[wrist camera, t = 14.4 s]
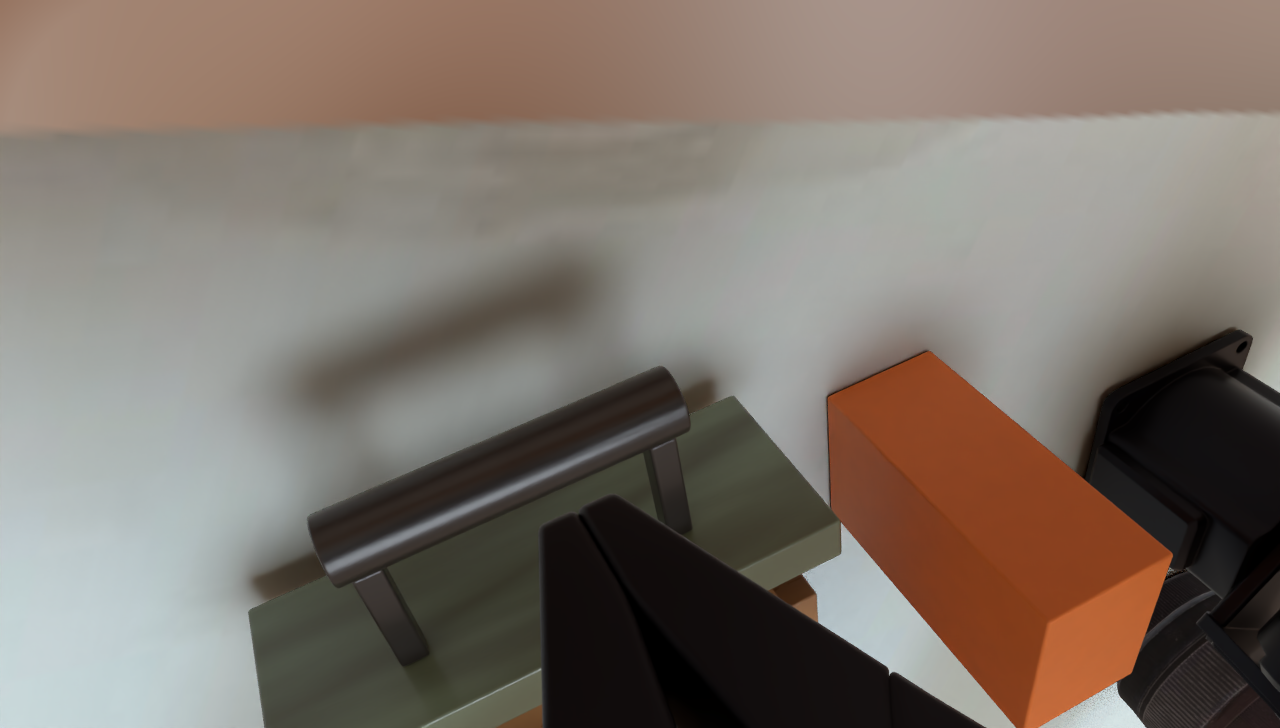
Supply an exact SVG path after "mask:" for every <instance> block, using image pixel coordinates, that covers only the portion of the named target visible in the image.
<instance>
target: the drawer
mask: <svg viewBox="0 0 1280 728" xmlns="http://www.w3.org/2000/svg"><path fill="white" fill-rule="evenodd" d="M607 494H617V495H619V496H621V497H623V498H624V499H626V500H627V501H629V502H630V503H632V504H634V505H635V506H637V507H638V508H640V509H641V510H643V511H645V512H646V513H648V514H649V515H651V516H652V517H654V518H655V519H657V520H659V521H660V522H662V523H663V524H665V525H666V526H668V527H669V528H671V529H673V530H674V531H676V532H677V533H679V534H680V535H682V536H684V537H685V538H687V539H688V540H690V541H691V542H693V543H694V544H696V545H698V546H699V547H701V548H702V549H704V550H705V551H707V552H708V553H710V554H712V555H713V556H715V557H716V558H718V559H719V560H721V561H723V562H724V563H726V564H727V565H729V566H730V567H732V568H733V569H735V570H737V571H738V572H740V573H741V574H743V575H744V576H746V577H747V578H749V579H751V580H752V581H754V582H755V583H757V584H758V585H760V586H762V587H763V588H765V589H766V590H768V591H769V592H771V593H772V594H774V595H776V596H777V597H779V598H780V599H782V600H783V601H785V602H786V603H788V604H790V605H791V606H793V607H794V608H796V609H797V610H799V611H801V612H802V613H804V614H805V615H807V616H808V617H810V618H811V619H813V620H815V621H816V622H818V613H817V595H816V592H815V591H814V590H813V589H812V587H811V586H810V585H809V583H808V582H807V581H806V579H805V578H804V577H803V575H802V573H804V572H806V571H808V570H810V569H812V568H814V567H816V566H818V565H820V564H822V563H824V562H826V561H828V560H830V559H832V558H834V557H836V556H838V555H840V554H841V522H840V519H839V518H838V517H837V516H836V514H835V513H834V512H833V511H832V510H831V509H830V507H829V506H828V505H827V504H826V503H825V502H824V500H823V499H822V498H821V497H820V496H819V495H818V493H817V492H816V491H815V490H814V489H813V488H812V486H811V485H810V484H809V483H808V482H807V480H806V479H805V478H804V477H803V476H802V475H801V473H800V472H799V471H798V470H797V469H796V468H795V466H794V465H793V464H792V463H791V462H790V461H789V459H788V458H787V457H786V456H785V455H784V454H783V452H782V451H781V450H780V449H779V448H778V447H777V445H776V444H775V443H774V442H773V441H772V440H771V438H770V437H769V436H768V435H767V434H766V433H765V431H764V430H763V429H762V428H761V427H760V425H759V424H758V423H757V422H756V421H755V420H754V418H753V417H752V416H751V415H750V414H749V413H748V411H747V410H746V409H745V408H744V407H743V406H742V404H741V403H740V402H739V401H738V400H737V399H736V397H735V396H730V397H728V398H726V399H723V400H721V401H719V402H717V403H714V404H712V405H710V406H708V407H705V408H703V409H701V410H699V411H696V412H694V413H692V414H690V415H689V412H688V408H687V405H686V402H685V400H684V397H683V395H682V393H681V391H680V389H679V387H678V385H677V383H676V381H675V380H674V378H673V377H672V375H671V374H670V373H669V371H668V370H667V369H666V368H664V367H663V366H658V367H655V368H653V369H651V370H648V371H646V372H643V373H641V374H639V375H636V376H634V377H632V378H629V379H627V380H625V381H622V382H620V383H618V384H615V385H613V386H611V387H608V388H606V389H604V390H601V391H599V392H597V393H594V394H592V395H590V396H587V397H585V398H583V399H580V400H578V401H575V402H573V403H571V404H568V405H566V406H564V407H561V408H559V409H557V410H554V411H552V412H550V413H547V414H545V415H543V416H540V417H538V418H536V419H533V420H531V421H529V422H526V423H524V424H522V425H519V426H517V427H515V428H512V429H510V430H508V431H505V432H503V433H500V434H498V435H496V436H493V437H491V438H489V439H486V440H484V441H482V442H479V443H477V444H475V445H472V446H470V447H468V448H465V449H463V450H461V451H458V452H456V453H454V454H451V455H449V456H447V457H444V458H442V459H440V460H437V461H435V462H433V463H430V464H428V465H425V466H423V467H421V468H418V469H416V470H414V471H411V472H409V473H407V474H404V475H402V476H400V477H397V478H395V479H393V480H390V481H388V482H386V483H383V484H381V485H379V486H376V487H374V488H372V489H369V490H367V491H365V492H362V493H360V494H358V495H355V496H353V497H350V498H348V499H346V500H343V501H341V502H339V503H336V504H334V505H332V506H329V507H327V508H325V509H322V510H320V511H318V512H315V513H313V514H311V515H309V516H308V518H307V525H308V530H309V534H310V537H311V540H312V543H313V546H314V549H315V551H316V554H317V556H318V559H319V561H320V563H321V565H322V567H323V569H324V571H325V573H326V575H327V576H324V577H322V578H320V579H318V580H315V581H313V582H311V583H309V584H306V585H304V586H302V587H300V588H297V589H295V590H293V591H291V592H288V593H286V594H284V595H282V596H279V597H277V598H275V599H273V600H270V601H268V602H266V603H264V604H261V605H259V606H257V607H254V608H252V609H250V610H249V612H248V615H249V622H250V629H251V636H252V643H253V650H254V657H255V664H256V672H257V679H258V686H259V693H260V700H261V707H262V714H263V721H264V728H543V724H542V679H541V634H540V590H539V545H538V531H539V528H540V526H541V525H542V524H544V523H546V522H548V521H550V520H552V519H554V518H557V517H559V516H561V515H563V514H565V513H568V512H571V511H572V512H576V513H577V514H578V513H579V509H580V508H581V507H582V506H583V505H585V504H587V503H590V502H592V501H594V500H596V499H599V498H601V497H603V496H605V495H607Z"/></svg>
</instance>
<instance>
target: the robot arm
mask: <svg viewBox="0 0 1280 728" xmlns="http://www.w3.org/2000/svg"><path fill="white" fill-rule="evenodd" d="M1252 340H1253V338H1252V336H1251V335H1249V334H1248V333H1246V332H1244V331H1242V330H1236V331H1234V332H1232V333H1230V334H1228V335H1226V336H1224V337H1222V338H1220V339H1218V340H1216V341H1214V342H1212V343H1210V344H1208V345H1206V346H1204V347H1202V348H1200V349H1198V350H1196V351H1194V352H1192V353H1190V354H1188V355H1186V356H1184V357H1181V358H1179V359H1177V360H1175V361H1173V362H1171V363H1169V364H1167V365H1165V366H1163V367H1161V368H1159V369H1157V370H1155V371H1153V372H1151V373H1149V374H1147V375H1145V376H1143V377H1141V378H1139V379H1137V380H1135V381H1133V382H1131V383H1129V384H1127V385H1125V386H1123V387H1121V388H1119V389H1117V390H1115V391H1113V392H1112V393H1111V394H1110V395H1109V396H1108V397H1107V398H1106V399H1105V401H1104V403H1103V405H1102V409H1101V413H1100V417H1099V422H1098V426H1097V430H1096V434H1095V439H1094V443H1093V447H1092V452H1091V456H1090V460H1089V464H1088V469H1087V473H1086V477H1085V481H1087V482H1088V483H1089V484H1090V485H1091V486H1093V487H1094V488H1095V489H1096V490H1097V491H1099V492H1100V493H1101V494H1102V495H1103V496H1105V497H1106V498H1107V499H1108V500H1109V501H1111V502H1112V503H1113V504H1114V505H1115V506H1117V507H1118V508H1119V509H1120V510H1121V511H1123V512H1124V513H1125V514H1126V515H1127V516H1129V517H1130V518H1131V519H1132V520H1133V521H1135V522H1136V523H1137V524H1138V525H1139V526H1141V527H1142V528H1143V529H1144V530H1145V531H1147V532H1148V533H1149V534H1150V535H1151V536H1152V537H1154V538H1155V539H1156V540H1157V541H1158V542H1160V543H1161V544H1162V545H1163V546H1164V547H1166V548H1167V549H1168V550H1169V551H1170V552H1172V554H1173V557H1172V560H1171V563H1170V566H1169V567H1170V568H1172V569H1174V570H1176V571H1182V570H1184V569H1187V570H1188V571H1189V572H1190V573H1191V574H1193V575H1194V576H1195V577H1196V578H1197V579H1199V580H1200V581H1201V582H1202V583H1203V584H1205V585H1206V586H1207V587H1208V588H1209V589H1211V590H1212V591H1213V592H1214V593H1215V594H1217V595H1218V596H1219V597H1220V598H1221V599H1222V600H1221V601H1220V602H1219V603H1218V604H1217V605H1216V606H1215V607H1214V609H1213V610H1212V611H1211V612H1209V611H1207V612H1206V613H1205V614H1204V615H1203V616H1202V617H1201V618H1200V619H1199V620H1198V621H1197V622H1196V624H1197V625H1198V626H1199V628H1200V629H1201V630H1202V631H1203V632H1204V633H1205V634H1206V638H1205V639H1207V640H1208V641H1209V642H1210V643H1211V644H1212V646H1213V647H1214V648H1215V649H1216V650H1217V651H1218V653H1219V654H1220V655H1221V656H1222V657H1223V658H1224V659H1225V660H1226V661H1227V662H1228V663H1229V664H1230V665H1231V666H1232V667H1233V669H1234V670H1235V671H1236V672H1237V673H1238V674H1239V675H1240V676H1241V677H1242V678H1243V679H1244V680H1245V681H1246V682H1247V684H1248V685H1249V686H1250V687H1251V688H1252V689H1253V690H1254V691H1255V692H1256V693H1257V694H1258V695H1259V696H1260V697H1261V698H1262V700H1263V701H1264V702H1265V703H1266V704H1267V705H1268V706H1269V707H1270V708H1271V709H1272V710H1273V711H1274V713H1275V714H1276V715H1277V717H1278V718H1279V719H1280V393H1279V392H1277V391H1276V390H1274V389H1272V388H1271V387H1269V386H1268V385H1266V384H1264V383H1263V382H1261V381H1260V380H1258V379H1256V378H1255V377H1253V376H1251V375H1250V374H1248V373H1247V372H1245V371H1243V370H1242V369H1243V366H1244V364H1245V361H1246V358H1247V355H1248V352H1249V350H1250V347H1251V344H1252ZM538 545H539V590H540V634H541V679H542V724H543V728H986V727H984V726H982V725H980V724H979V723H977V722H975V721H974V720H972V719H970V718H969V717H967V716H965V715H964V714H962V713H960V712H959V711H957V710H955V709H954V708H952V707H950V706H949V705H947V704H945V703H944V702H942V701H940V700H939V699H937V698H935V697H934V696H932V695H930V694H929V693H927V692H926V691H924V690H923V689H921V688H920V687H918V686H917V685H915V684H913V683H912V682H910V681H909V680H907V679H906V678H904V677H903V676H901V675H899V674H898V673H896V672H892V673H891V674H890V676H889V670H888V668H887V667H886V666H885V665H883V664H882V663H880V662H879V661H877V660H875V659H874V658H872V657H871V656H869V655H868V654H866V653H864V652H863V651H861V650H860V649H858V648H857V647H855V646H854V645H852V644H850V643H849V642H847V641H846V640H844V639H843V638H841V637H840V636H838V635H836V634H835V633H833V632H832V631H830V630H829V629H827V628H825V627H824V626H822V625H821V624H819V623H818V622H816V621H815V620H813V619H811V618H810V617H808V616H807V615H805V614H804V613H802V612H801V611H799V610H797V609H796V608H794V607H793V606H791V605H790V604H788V603H786V602H785V601H783V600H782V599H780V598H779V597H777V596H776V595H774V594H772V593H771V592H769V591H768V590H766V589H765V588H763V587H762V586H760V585H758V584H757V583H755V582H754V581H752V580H751V579H749V578H747V577H746V576H744V575H743V574H741V573H740V572H738V571H737V570H735V569H733V568H732V567H730V566H729V565H727V564H726V563H724V562H723V561H721V560H719V559H718V558H716V557H715V556H713V555H712V554H710V553H708V552H707V551H705V550H704V549H702V548H701V547H699V546H698V545H696V544H694V543H693V542H691V541H690V540H688V539H687V538H685V537H684V536H682V535H680V534H679V533H677V532H676V531H674V530H673V529H671V528H669V527H668V526H666V525H665V524H663V523H662V522H660V521H659V520H657V519H655V518H654V517H652V516H651V515H649V514H648V513H646V512H645V511H643V510H641V509H640V508H638V507H637V506H635V505H634V504H632V503H630V502H629V501H627V500H626V499H624V498H623V497H621V496H619V495H617V494H607V495H605V496H603V497H601V498H599V499H596V500H594V501H592V502H590V503H587V504H585V505H583V506H582V507H581V508H580V509H579V513H578V514H577V513H576V512H572V511H571V512H568V513H565V514H563V515H561V516H559V517H557V518H554V519H552V520H550V521H548V522H546V523H544V524H542V525H541V526H540V528H539V531H538Z"/></svg>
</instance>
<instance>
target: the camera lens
mask: <svg viewBox="0 0 1280 728" xmlns="http://www.w3.org/2000/svg"><path fill="white" fill-rule="evenodd" d="M1221 600H1222V599H1221V598H1220V597H1219V596H1218V595H1217V594H1215V593H1214V592H1213V591H1212V590H1211V589H1209V588H1208V587H1207V586H1206V585H1205V584H1203V583H1202V582H1201V581H1200V580H1199V579H1197V578H1196V577H1195V576H1194V575H1193V574H1191V573H1190V572H1189V571H1188V572H1185V573H1181V574H1178V575H1176V576H1174V577H1171V578H1169V579H1167V580H1165V581H1164V583H1163V585H1162V588H1161V591H1160V594H1159V597H1158V599H1157V602H1156V605H1155V608H1154V611H1153V614H1152V616H1151V619H1150V622H1149V625H1148V628H1147V631H1146V633H1145V636H1144V639H1143V642H1142V645H1141V648H1140V650H1139V653H1138V656H1137V659H1136V662H1135V665H1134V667H1133V670H1132V672H1131V674H1129V675H1127V676H1126V677H1124V678H1122V679H1120V680H1119V681H1117V689H1118V693H1119V696H1120V697H1121V698H1122V699H1123V700H1124V701H1125V702H1126V704H1127V705H1128V706H1129V707H1130V708H1131V709H1132V710H1133V711H1134V713H1135V714H1136V715H1137V716H1138V718H1139V719H1140V720H1141V722H1142V723H1143V724H1144V725H1145V727H1146V728H1280V719H1279V718H1278V717H1277V715H1276V714H1275V713H1274V711H1273V710H1272V709H1271V708H1270V707H1269V706H1268V705H1267V704H1266V703H1265V702H1264V701H1263V700H1262V698H1261V697H1260V696H1259V695H1258V694H1257V693H1256V692H1255V691H1254V690H1253V689H1252V688H1251V687H1250V686H1249V685H1248V684H1247V682H1246V681H1245V680H1244V679H1243V678H1242V677H1241V676H1240V675H1239V674H1238V673H1237V672H1236V671H1235V670H1234V669H1233V667H1232V666H1231V665H1230V664H1229V663H1228V662H1227V661H1226V660H1225V659H1224V658H1223V657H1222V656H1221V655H1220V654H1219V653H1218V651H1217V650H1216V649H1215V648H1214V647H1213V646H1212V644H1211V643H1210V642H1209V641H1208V640H1207V639H1205V638H1206V634H1205V633H1204V632H1203V631H1202V630H1201V629H1200V628H1199V626H1198V625H1197V624H1196V622H1197V621H1198V620H1199V619H1200V618H1201V617H1202V616H1203V615H1204V614H1205V613H1206V612H1207V611H1209V612H1211V611H1212V610H1213V609H1214V607H1215V606H1216V605H1217V604H1218V603H1219V602H1220V601H1221Z"/></svg>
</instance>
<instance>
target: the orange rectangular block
mask: <svg viewBox="0 0 1280 728" xmlns="http://www.w3.org/2000/svg"><path fill="white" fill-rule="evenodd" d="M828 424H829V454H830V484H831V510H832V511H833V512H834V513H835V514H836V516H837V517H838V518H839V519H840V521H841V523H842V524H843V525H844V526H845V527H846V529H847V530H848V531H849V532H850V533H851V534H852V536H853V537H854V538H855V539H856V540H857V541H858V543H859V544H860V545H861V546H862V547H863V548H864V550H865V551H866V552H867V553H868V554H869V556H870V557H871V558H872V559H873V560H874V561H875V563H876V564H877V565H878V566H879V567H880V568H881V570H882V571H883V572H884V573H885V574H886V575H887V577H888V578H889V579H890V580H891V581H892V582H893V584H894V585H895V586H896V587H897V588H898V590H899V591H900V592H901V593H902V594H903V595H904V597H905V598H906V599H907V600H908V601H909V602H910V604H911V605H912V606H913V607H914V608H915V609H916V611H917V612H918V613H919V614H920V615H921V617H922V618H923V619H924V620H925V621H926V622H927V624H928V625H929V626H930V627H931V628H932V629H933V631H934V632H935V633H936V634H937V635H938V636H939V638H940V639H941V640H942V641H943V642H944V644H945V645H946V646H947V647H948V648H949V649H950V651H951V652H952V653H953V654H954V655H955V656H956V658H957V659H958V660H959V661H960V662H961V663H962V665H963V666H964V667H965V668H966V669H967V670H968V672H969V673H970V674H971V675H972V676H973V678H974V679H975V680H976V681H977V682H978V683H979V685H980V686H981V687H982V688H983V689H984V690H985V692H986V693H987V694H988V695H989V696H990V697H991V699H992V700H993V701H994V702H995V703H996V705H997V706H998V707H999V708H1000V709H1001V710H1002V712H1003V713H1004V714H1005V715H1006V716H1007V717H1008V719H1009V720H1010V721H1011V722H1012V723H1013V724H1014V726H1015V727H1016V728H1038V727H1040V726H1042V725H1043V724H1045V723H1047V722H1048V721H1050V720H1052V719H1054V718H1055V717H1057V716H1059V715H1060V714H1062V713H1064V712H1066V711H1067V710H1069V709H1071V708H1072V707H1074V706H1076V705H1078V704H1079V703H1081V702H1083V701H1084V700H1086V699H1088V698H1090V697H1091V696H1093V695H1095V694H1096V693H1098V692H1100V691H1102V690H1103V689H1105V688H1107V687H1108V686H1110V685H1112V684H1114V683H1115V682H1117V681H1119V680H1120V679H1122V678H1124V677H1126V676H1127V675H1129V674H1131V672H1132V670H1133V667H1134V665H1135V662H1136V659H1137V656H1138V653H1139V650H1140V648H1141V645H1142V642H1143V639H1144V636H1145V633H1146V631H1147V628H1148V625H1149V622H1150V619H1151V616H1152V614H1153V611H1154V608H1155V605H1156V602H1157V599H1158V597H1159V594H1160V591H1161V588H1162V585H1163V583H1164V580H1165V577H1166V574H1167V571H1168V568H1169V566H1170V563H1171V560H1172V557H1173V554H1172V552H1170V551H1169V550H1168V549H1167V548H1166V547H1164V546H1163V545H1162V544H1161V543H1160V542H1158V541H1157V540H1156V539H1155V538H1154V537H1152V536H1151V535H1150V534H1149V533H1148V532H1147V531H1145V530H1144V529H1143V528H1142V527H1141V526H1139V525H1138V524H1137V523H1136V522H1135V521H1133V520H1132V519H1131V518H1130V517H1129V516H1127V515H1126V514H1125V513H1124V512H1123V511H1121V510H1120V509H1119V508H1118V507H1117V506H1115V505H1114V504H1113V503H1112V502H1111V501H1109V500H1108V499H1107V498H1106V497H1105V496H1103V495H1102V494H1101V493H1100V492H1099V491H1097V490H1096V489H1095V488H1094V487H1093V486H1091V485H1090V484H1089V483H1088V482H1087V481H1085V480H1084V479H1083V478H1082V477H1081V476H1079V475H1078V474H1077V473H1076V472H1075V471H1073V470H1072V469H1071V468H1070V467H1069V466H1067V465H1066V464H1065V463H1064V462H1063V461H1061V460H1060V459H1059V458H1058V457H1057V456H1055V455H1054V454H1053V453H1052V452H1051V451H1049V450H1048V449H1047V448H1046V447H1045V446H1043V445H1042V444H1041V443H1040V442H1039V441H1037V440H1036V439H1035V438H1034V437H1033V436H1031V435H1030V434H1029V433H1028V432H1027V431H1025V430H1024V429H1023V428H1022V427H1021V426H1019V425H1018V424H1017V423H1016V422H1015V421H1013V420H1012V419H1011V418H1010V417H1009V416H1007V415H1006V414H1005V413H1004V412H1003V411H1001V410H1000V409H999V408H998V407H997V406H995V405H994V404H993V403H992V402H991V401H989V400H988V399H987V398H986V397H985V396H983V395H982V394H981V393H980V392H979V391H977V390H976V389H975V388H974V387H973V386H971V385H970V384H969V383H968V382H967V381H965V380H964V379H963V378H962V377H961V376H959V375H958V374H957V373H956V372H955V371H953V370H952V369H951V368H950V367H949V366H947V365H946V364H945V363H944V362H943V361H942V360H940V359H939V358H938V357H937V356H936V355H934V354H933V353H932V352H931V351H927V352H925V353H923V354H921V355H919V356H916V357H914V358H912V359H910V360H908V361H905V362H903V363H901V364H899V365H897V366H894V367H892V368H890V369H888V370H886V371H883V372H881V373H879V374H877V375H875V376H872V377H870V378H868V379H866V380H864V381H861V382H859V383H857V384H855V385H853V386H850V387H848V388H846V389H844V390H842V391H839V392H837V393H835V394H833V395H831V396H829V397H828Z"/></svg>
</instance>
